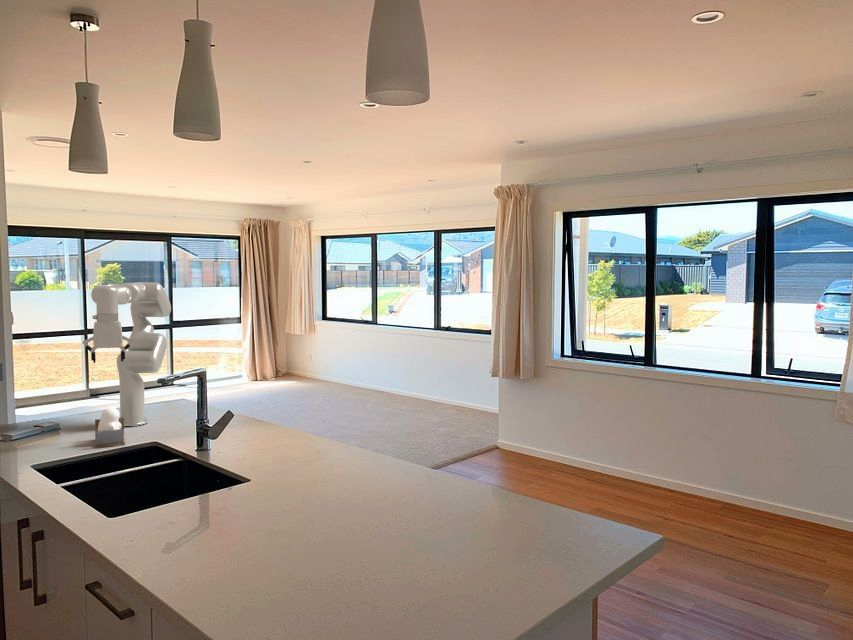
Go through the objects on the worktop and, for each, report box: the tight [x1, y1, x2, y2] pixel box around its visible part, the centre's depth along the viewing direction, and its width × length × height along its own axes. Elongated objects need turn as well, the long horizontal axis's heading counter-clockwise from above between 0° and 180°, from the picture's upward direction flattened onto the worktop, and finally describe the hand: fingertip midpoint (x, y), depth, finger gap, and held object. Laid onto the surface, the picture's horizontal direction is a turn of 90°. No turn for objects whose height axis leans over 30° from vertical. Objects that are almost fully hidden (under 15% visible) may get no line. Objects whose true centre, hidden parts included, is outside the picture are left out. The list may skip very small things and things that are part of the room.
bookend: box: [96, 429, 124, 445], centre depth 234 cm, size 4×9×5 cm, turn 118°
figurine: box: [98, 407, 122, 431], centre depth 238 cm, size 7×8×12 cm
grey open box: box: [94, 416, 126, 449], centre depth 238 cm, size 13×10×8 cm
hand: (108, 361), depth 242 cm, fingers open, 9 cm apart
